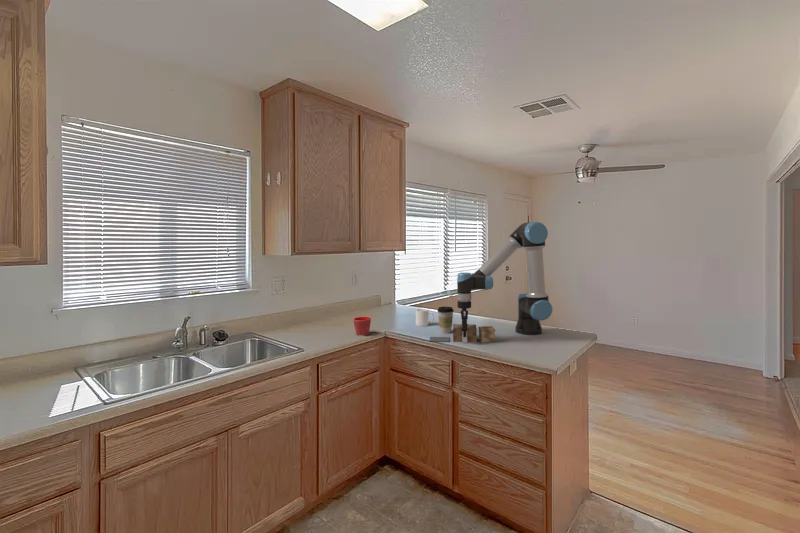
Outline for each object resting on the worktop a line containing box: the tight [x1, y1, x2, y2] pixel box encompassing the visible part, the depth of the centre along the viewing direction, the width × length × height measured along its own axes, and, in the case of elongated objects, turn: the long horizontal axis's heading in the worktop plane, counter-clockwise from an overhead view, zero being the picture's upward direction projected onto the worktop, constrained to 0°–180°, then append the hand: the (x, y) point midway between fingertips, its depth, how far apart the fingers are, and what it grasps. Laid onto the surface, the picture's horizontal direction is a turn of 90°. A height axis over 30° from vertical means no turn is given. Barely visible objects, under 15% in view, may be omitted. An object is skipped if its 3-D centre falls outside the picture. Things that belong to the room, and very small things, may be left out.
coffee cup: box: [437, 306, 454, 334], centre depth 231 cm, size 10×10×15 cm
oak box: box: [477, 325, 496, 343], centre depth 211 cm, size 8×8×7 cm
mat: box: [428, 336, 450, 343], centre depth 215 cm, size 11×9×1 cm
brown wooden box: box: [452, 323, 478, 343], centre depth 212 cm, size 13×8×9 cm, turn 81°
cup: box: [415, 308, 435, 328], centre depth 251 cm, size 8×12×10 cm
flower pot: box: [352, 316, 372, 336], centre depth 231 cm, size 11×11×10 cm
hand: (464, 339), depth 213 cm, fingers open, 11 cm apart
